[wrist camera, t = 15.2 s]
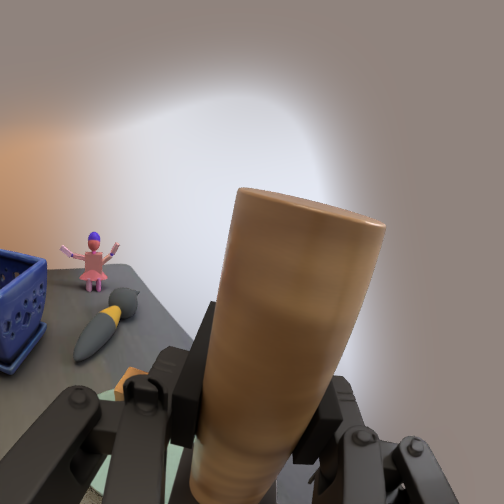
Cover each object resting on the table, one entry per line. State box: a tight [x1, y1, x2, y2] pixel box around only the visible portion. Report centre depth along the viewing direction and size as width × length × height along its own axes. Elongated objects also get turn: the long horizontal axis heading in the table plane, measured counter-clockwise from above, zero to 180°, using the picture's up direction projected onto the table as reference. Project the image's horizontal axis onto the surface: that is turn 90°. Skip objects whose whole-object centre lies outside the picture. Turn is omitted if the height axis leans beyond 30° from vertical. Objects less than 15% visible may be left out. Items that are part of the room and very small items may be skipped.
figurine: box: [60, 232, 119, 292], centre depth 46 cm, size 3×12×11 cm, turn 123°
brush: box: [168, 188, 386, 504], centre depth 8 cm, size 5×5×16 cm
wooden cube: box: [114, 367, 148, 401], centre depth 24 cm, size 4×4×4 cm
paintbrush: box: [73, 288, 139, 361], centre depth 37 cm, size 20×5×5 cm, turn 2°
